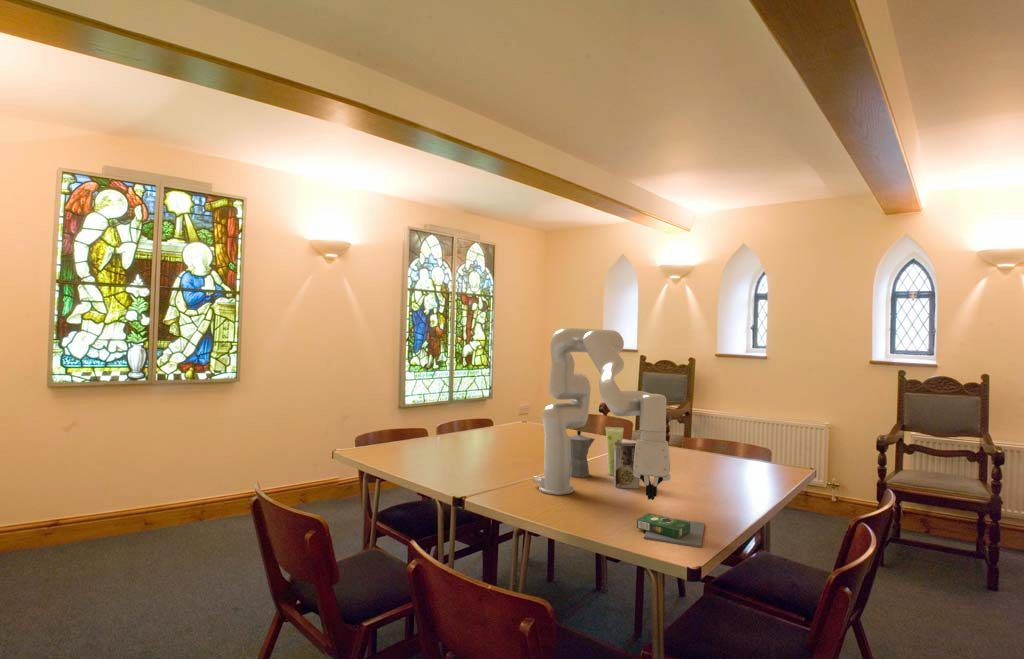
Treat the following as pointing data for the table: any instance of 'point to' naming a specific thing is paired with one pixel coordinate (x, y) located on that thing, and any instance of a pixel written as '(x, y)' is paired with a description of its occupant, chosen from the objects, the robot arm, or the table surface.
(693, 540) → the mat
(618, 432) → the tube
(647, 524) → the coffee box
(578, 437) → the coffeepot
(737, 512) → the table surface
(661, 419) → the robot arm
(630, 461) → the coffee box
